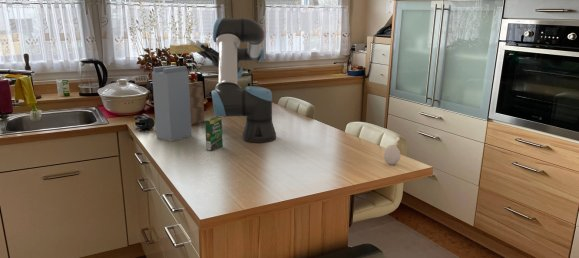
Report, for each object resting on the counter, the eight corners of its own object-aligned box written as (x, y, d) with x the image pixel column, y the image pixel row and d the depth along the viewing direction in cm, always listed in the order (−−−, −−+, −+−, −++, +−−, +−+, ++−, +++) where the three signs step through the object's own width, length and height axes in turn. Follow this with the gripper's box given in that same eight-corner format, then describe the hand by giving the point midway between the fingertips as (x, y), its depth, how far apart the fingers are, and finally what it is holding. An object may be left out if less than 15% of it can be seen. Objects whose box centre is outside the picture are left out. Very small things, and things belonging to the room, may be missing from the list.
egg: (387, 160, 171) (389, 141, 170) (402, 164, 168) (403, 144, 166) (380, 164, 167) (381, 145, 165) (395, 168, 163) (396, 148, 161)
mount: (177, 132, 211) (172, 65, 203) (191, 135, 206) (188, 66, 198) (156, 137, 202) (151, 67, 194) (171, 141, 196) (166, 69, 188)
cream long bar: (203, 50, 235) (202, 42, 234) (208, 51, 232) (208, 43, 231) (170, 53, 217) (169, 45, 216) (175, 53, 215) (175, 45, 214)
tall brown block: (191, 118, 239) (189, 80, 234) (204, 121, 233) (202, 81, 228) (176, 122, 231) (174, 82, 226) (190, 125, 225) (187, 84, 220)
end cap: (155, 130, 216) (154, 116, 214) (140, 132, 212) (139, 118, 210) (149, 126, 224) (148, 112, 222) (135, 127, 220) (134, 114, 218)
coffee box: (211, 151, 182) (209, 120, 179) (205, 150, 183) (204, 119, 180) (223, 146, 189) (222, 116, 186) (217, 145, 190) (216, 115, 187)
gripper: (231, 69, 239) (202, 50, 220) (208, 67, 248) (179, 48, 229) (235, 57, 240) (207, 36, 221) (212, 55, 250) (184, 35, 231)
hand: (193, 42), depth 225 cm, fingers closed on cream long bar, 4 cm apart
